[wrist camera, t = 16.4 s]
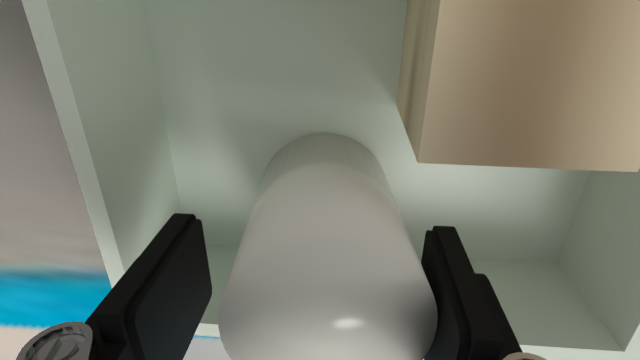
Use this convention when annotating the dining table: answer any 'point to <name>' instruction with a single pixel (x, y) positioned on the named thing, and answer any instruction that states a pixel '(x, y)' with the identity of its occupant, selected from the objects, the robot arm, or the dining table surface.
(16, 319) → the dining table surface
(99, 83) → the tote
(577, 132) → the beech cube
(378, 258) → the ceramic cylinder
